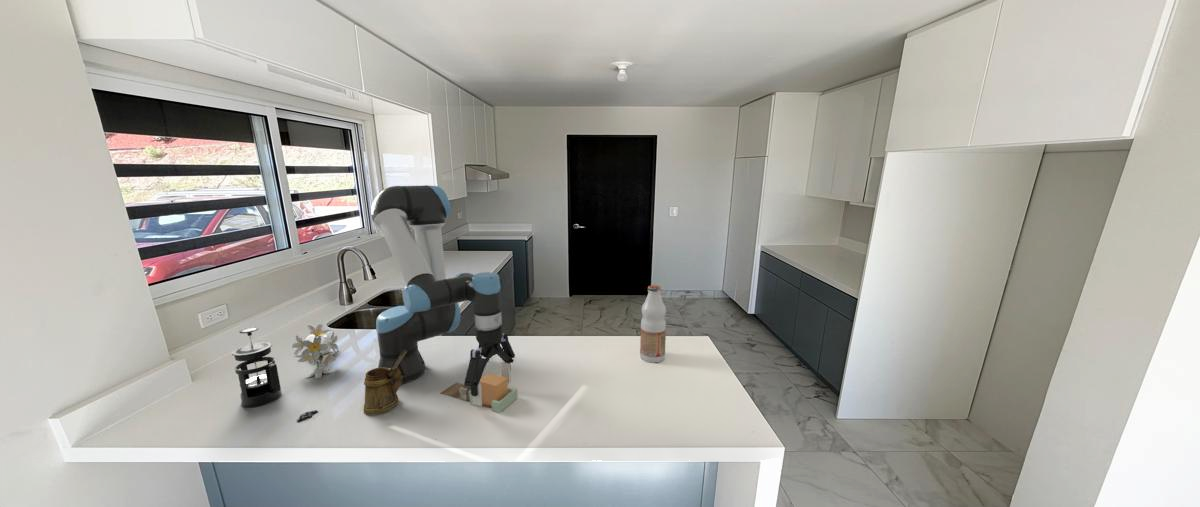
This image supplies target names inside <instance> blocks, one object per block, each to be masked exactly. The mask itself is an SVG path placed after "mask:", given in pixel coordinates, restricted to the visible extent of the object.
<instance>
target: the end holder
mask: <svg viewBox="0 0 1200 507" xmlns="http://www.w3.org/2000/svg"><path fill="white" fill-rule="evenodd" d="M518 395H519V394H518V388H516V387H512V386H508V394H507V395H506V396H505V397H504V398H503V399H501V400H500V401H497V400H493V401H491V402H492V409H491V411H492V412H495V413H498V414H501V413H503V412H504V411H505V410H506V409H507V408H508V407H510V406H511V405H512V404H513V403H514V402H515V401H517V399H518V398H519V396H518ZM514 400H515V401H514ZM513 401H514V402H513ZM512 402H513V403H512ZM469 403H470V405H472V406H475V407H476V406H477V405H474V404H473V396H472V395H470V402H469ZM511 403H512V404H511ZM510 404H511V405H510ZM509 405H510V406H509ZM506 407H507V408H506ZM505 408H506V409H505ZM504 409H505V410H504ZM503 410H504V411H503ZM502 411H503V412H502Z"/></svg>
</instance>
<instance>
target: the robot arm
mask: <svg viewBox="0 0 1200 507" xmlns="http://www.w3.org/2000/svg"><path fill="white" fill-rule="evenodd" d="M450 212H451V205H450V200H449V197H448V194H447V193H446V192H445V190H444V189H443V188H442V187H440V186H437V185H427V184H425V185H392V186H389V187H386V188H384V189H383V190H381V191H380V192H379V193H378V194H377V195H376V196H375V198H374V200H373V201H372V203H371V209H370V216H371V219H372V222H373V224H374V227H375V228H376V229H377V230H378V231H381V233H382V235H383V238H384V239H385V242H386V244H387V246H388V248H389V250H390V253H391V254H392V257H393V259H394V261H395V263H396V266H397V268H398V270H399V272H400V275H401V276H402V278H403V281H404V283H405V285H406V286H404V288H403V289H402V301H403V305H397V306H394V307H390V308H388V309H386V310H384V311H382V312H381V313H379V315H378V316H377V317H376V322H375V324H376V325H375V326H376V328H375V329H376V330H375V331H376V333H377V342H378V348H379V361H378V365H377V368H380V367H386V368H391V367H392V365H393V364H394V363H395V361H396V360H397V358H398V357H399V356H400V355H401V353H402V352H403V351H404V350H405V349H406V351H407V353H406V354H405V356H404V357H403V359H402V360H401V362H400V363H399V365H398V366H397V368H398V369H399V370H400V372H401V375H402V382H401V384H400V385H402V384H406V383H409V382H412V381H414V380H416V379H418V378H420V377H422V376H423V375H424V373H425V372H426V363H425V360H424V358H423V356H422V354H421V352H420V351H419V347H418V345H419V344H418V343H419V342H421V341H426V340H428V339H431V338H434V337H437V336H442V335H443V336H444V335H447V334H449V333H451V332H454V331H455V330H456V329H457V328H458V327H459V326H460V322H461V308H460V305H459V303H463V302H468V301H469V302H471V303H473V310H474V311H473V312H474V313H473V314H474V327H475V340H476V341H477V343H478V347H477V348H476V349H471V350H470V356H469V363H468V367H467V371H466V374H465V378H464V383H463V384H464V385H465V386H468V387H471V395H472V396H473V404H474V405H476V406H478V407H483V406H482V392H481V384H479V382H480V379H481V378H482V376H483V374H484V371H485V369H486V366H487V363H489V362H490V360H491V358H493V357H494V356H496V355H497V356H498V357H499V358H500V359H501V360H502V362H500V363H501V376H502V377H506V378H507V384H511V383H512V380H511V377H512V376H511V370H512V368H511V367H512V366H511V364H513V363H514V362H515V361H514V358H515V357H516V355H515V352H514V350H513V347H512V345H511V343H510V341H509V337H508V333H503V325H502V324H503V321H502V320H503V318H502V317H503V316H502V294H501V292H502V290H501V289H502V287H501V283H500V275H499V274H498V273H496V272H490V271H484V272H479V273H475V274H473V273H470V272H460V273H458V274H456V275H455V276H454V277H450V278H447V274H446V267H445V266H446V264H445V256H444V245H443V237H442V236H443V235H442V228H443V226H444V225H445V224H446V220H445V219H447V218H449V216H450V214H451V213H450ZM411 229H413V231H414V234H413V231H412V230H411ZM475 380H476V381H475ZM395 382H396V379H395V378H394V377H393V378H392V383H393V384H395ZM474 405H473V406H474Z"/></svg>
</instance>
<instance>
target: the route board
mask: <svg viewBox="0 0 1200 507" xmlns="http://www.w3.org/2000/svg"><path fill="white" fill-rule="evenodd" d="M475 381H476V380H475ZM439 394H441V395H444V396H447V397H451V398H455V399H457V400H461V401H464V402H468V403H470V395H471V390H469V391H468V389H467V388H465V385H464V383H461V382H455V383H453V384H452V385H450V386H449V387H447V388H446V389H444V390H443V391H441V392H440V393H439ZM515 401H516V400H514V401H513V402H512V403H511V404H510V405H509V406H508V407H510V406H511V405H512V404H513V403H514V402H515ZM481 407H483V408H488V409H491V410H492V406H490V405H486V404H483V403H482V406H481ZM508 407H506V408H505V409H504V410H503V411H502V412H501V413H503V412H504V411H505V410H506V409H507V408H508Z"/></svg>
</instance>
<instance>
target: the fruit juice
mask: <svg viewBox="0 0 1200 507" xmlns="http://www.w3.org/2000/svg"><path fill="white" fill-rule="evenodd" d="M647 292H648V293H647V296H646V298H645V301H644V303H643V304H642V305H641V315H642V318H641V320H640V339H639V340H640V342H639V343H640V346H639V347H640V348H639V355H640V358H641V359H642V361H644V362H646V361H647V362H648V363H651V362H652V363H653V364H655V362H657V363H660V362H663V361H664V360H665V357H666V339H667V338H666V336H667V333H666V330H667V321H666V318H665V317H666V315H667V308H666V305H665V303H664V301H663V297H662V295H661V292H662V287H661V286H660V285H653V284H652V285H648V287H647ZM662 360H663V361H662Z"/></svg>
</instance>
